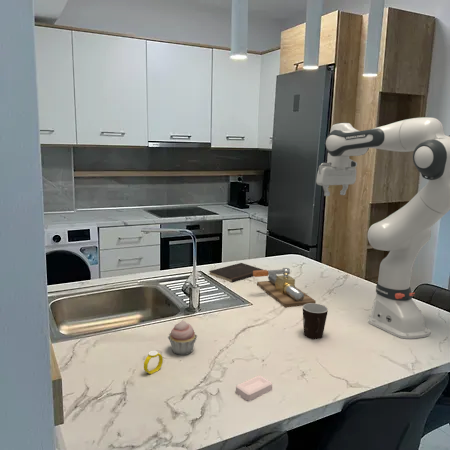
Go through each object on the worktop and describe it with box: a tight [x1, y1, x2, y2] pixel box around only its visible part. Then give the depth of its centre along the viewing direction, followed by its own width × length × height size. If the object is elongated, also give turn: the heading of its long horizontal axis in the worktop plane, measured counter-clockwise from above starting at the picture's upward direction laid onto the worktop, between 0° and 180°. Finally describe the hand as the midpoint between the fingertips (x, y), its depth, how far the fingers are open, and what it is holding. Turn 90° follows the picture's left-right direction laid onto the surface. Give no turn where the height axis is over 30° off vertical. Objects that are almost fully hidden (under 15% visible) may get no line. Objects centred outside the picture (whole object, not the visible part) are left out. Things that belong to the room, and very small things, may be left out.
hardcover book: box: [208, 262, 264, 283], centre depth 215 cm, size 16×23×2 cm
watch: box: [143, 350, 164, 375], centre depth 124 cm, size 6×3×6 cm, turn 139°
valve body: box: [267, 274, 304, 302], centre depth 188 cm, size 26×6×8 cm, turn 19°
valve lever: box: [253, 267, 291, 278], centre depth 185 cm, size 17×3×2 cm, turn 109°
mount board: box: [256, 280, 317, 308], centre depth 189 cm, size 28×14×2 cm, turn 19°
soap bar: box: [235, 374, 273, 401], centre depth 116 cm, size 5×9×2 cm, turn 130°
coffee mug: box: [302, 303, 329, 340], centre depth 148 cm, size 12×9×10 cm
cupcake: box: [167, 320, 198, 356], centre depth 136 cm, size 9×9×10 cm
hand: (334, 195), depth 184 cm, fingers open, 8 cm apart
